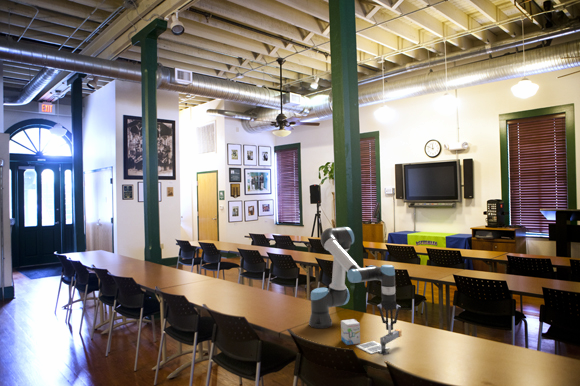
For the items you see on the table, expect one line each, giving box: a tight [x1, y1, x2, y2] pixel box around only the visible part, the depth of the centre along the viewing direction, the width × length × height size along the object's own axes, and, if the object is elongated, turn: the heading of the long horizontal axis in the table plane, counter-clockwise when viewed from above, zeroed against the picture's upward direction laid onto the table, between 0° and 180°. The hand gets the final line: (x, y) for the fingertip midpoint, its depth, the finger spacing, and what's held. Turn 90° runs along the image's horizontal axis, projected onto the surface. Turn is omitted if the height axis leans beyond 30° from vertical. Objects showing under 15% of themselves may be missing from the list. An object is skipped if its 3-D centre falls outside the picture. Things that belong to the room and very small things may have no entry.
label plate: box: [355, 340, 391, 355], centre depth 213 cm, size 13×13×1 cm
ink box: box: [340, 318, 361, 346], centre depth 224 cm, size 9×8×12 cm
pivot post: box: [377, 344, 390, 356], centre depth 205 cm, size 4×4×5 cm
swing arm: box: [379, 328, 403, 345], centre depth 211 cm, size 18×3×3 cm, turn 135°
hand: (389, 335), depth 215 cm, fingers closed
